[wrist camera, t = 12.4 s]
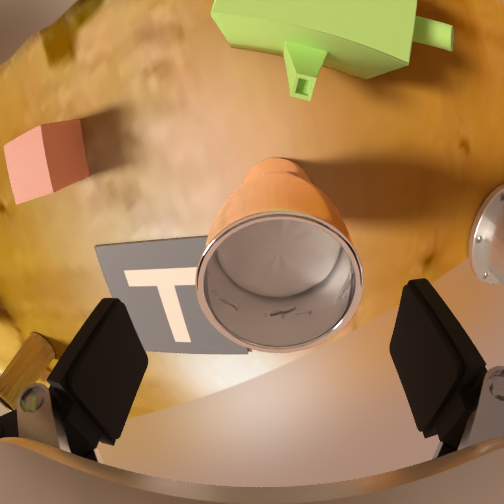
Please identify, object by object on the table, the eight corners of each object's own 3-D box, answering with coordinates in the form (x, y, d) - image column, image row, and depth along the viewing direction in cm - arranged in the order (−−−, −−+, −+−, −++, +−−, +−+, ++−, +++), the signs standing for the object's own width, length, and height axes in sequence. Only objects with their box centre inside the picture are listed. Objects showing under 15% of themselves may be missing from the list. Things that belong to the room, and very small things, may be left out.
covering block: (80, 118, 22) (40, 125, 17) (90, 175, 25) (53, 192, 19) (42, 135, 23) (3, 145, 17) (52, 186, 25) (16, 204, 20)
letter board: (230, 234, 26) (229, 235, 26) (248, 351, 33) (247, 354, 32) (96, 245, 28) (94, 246, 27) (136, 347, 34) (134, 350, 34)
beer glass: (330, 209, 24) (387, 320, 11) (260, 242, 26) (246, 373, 13) (294, 138, 22) (327, 169, 9) (221, 177, 24) (154, 258, 11)
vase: (43, 357, 40) (6, 411, 27) (25, 331, 37) (-17, 384, 24) (61, 358, 39) (23, 418, 26) (42, 331, 36) (-2, 391, 23)
